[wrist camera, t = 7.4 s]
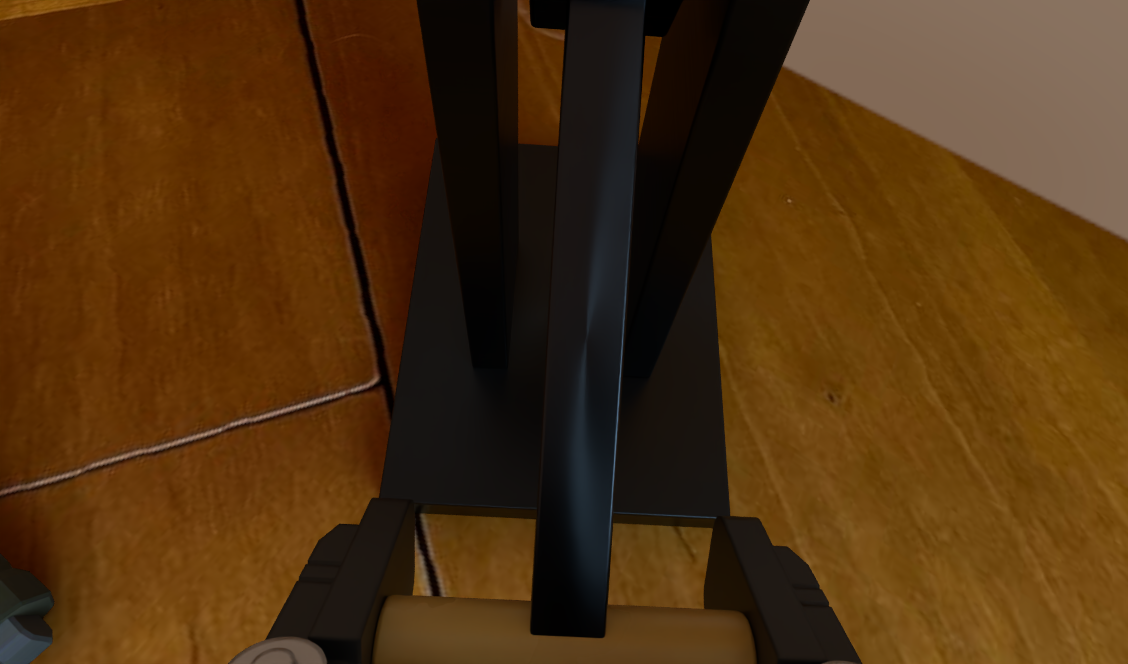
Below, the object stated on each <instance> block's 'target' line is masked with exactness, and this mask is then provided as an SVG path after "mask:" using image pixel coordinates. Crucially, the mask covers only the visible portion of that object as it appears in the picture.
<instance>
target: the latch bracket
mask: <svg viewBox="0 0 1128 664" xmlns="http://www.w3.org/2000/svg"><path fill="white" fill-rule="evenodd" d="M416 1H417V7H418V14H419V21H420V27H421V34H422V40H423V47H424V53H425V60H426V66H427V73H428V79H429V86H430V93H431V99H432V106H433V112H434V119H435V125H436V132H437V138H436V140H435V147H434V153H433V159H432V166H431V172H430V178H429V185H428V191H427V197H426V204H425V210H424V216H423V223H422V229H421V235H420V242H419V248H418V254H417V260H416V267H415V273H414V279H413V286H412V292H411V298H410V305H409V311H408V317H407V324H406V330H405V336H404V343H403V349H402V355H401V362H400V368H399V374H398V381H397V387H396V393H395V400H394V406H393V412H392V419H391V425H390V431H389V437H388V444H387V450H386V456H385V463H384V469H383V475H382V482H381V488H380V494H379V498H394V499H412V500H413V501H414V508H415V513H426V514H445V515H465V516H485V517H505V518H524V519H536V508H537V491H538V474H539V457H540V441H541V424H542V407H543V391H544V374H545V357H546V340H547V324H548V307H549V290H550V273H551V257H552V240H553V223H554V206H555V190H556V173H557V156H558V146H546V145H531V144H518V16H517V0H416ZM809 1H810V0H683V2H682V4H681V6H680V8H679V10H678V12H677V14H676V16H675V18H674V20H673V23H672V25H671V27H670V29H669V31H668V33H667V35H666V36H664V37H662V40H661V45H660V49H659V54H658V58H657V63H656V67H655V72H654V77H653V81H652V86H651V90H650V95H649V99H648V104H647V108H646V113H645V118H644V122H643V127H642V131H641V136H640V140H639V145H638V153H637V168H636V184H635V199H634V214H633V229H632V244H631V259H630V274H629V290H628V305H627V320H626V335H625V350H624V365H623V380H622V396H621V411H620V426H619V441H618V456H617V471H616V486H615V501H614V517H613V523H623V524H643V525H663V526H682V527H702V528H713V526H714V522H715V519H716V517H717V516H730V505H729V491H728V476H727V462H726V447H725V432H724V418H723V403H722V389H721V374H720V359H719V345H718V330H717V315H716V301H715V286H714V272H713V257H712V242H711V233H712V230H713V228H714V225H715V223H716V221H717V218H718V216H719V214H720V211H721V209H722V207H723V204H724V202H725V200H726V197H727V195H728V192H729V190H730V188H731V185H732V183H733V181H734V178H735V176H736V174H737V171H738V169H739V166H740V164H741V162H742V159H743V157H744V155H745V152H746V150H747V148H748V145H749V143H750V140H751V138H752V136H753V133H754V131H755V129H756V126H757V124H758V122H759V119H760V117H761V114H762V112H763V110H764V107H765V105H766V103H767V100H768V98H769V96H770V93H771V91H772V89H773V86H774V84H775V81H776V79H777V77H778V74H779V72H780V70H781V67H782V65H783V63H784V60H785V58H786V55H787V53H788V51H789V48H790V46H791V43H792V41H793V39H794V36H795V34H796V32H797V29H798V27H799V25H800V22H801V20H802V17H803V15H804V13H805V10H806V8H807V6H808V3H809Z"/></svg>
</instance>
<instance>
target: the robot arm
mask: <svg viewBox="0 0 1128 664" xmlns="http://www.w3.org/2000/svg"><path fill="white" fill-rule="evenodd" d="M414 574H415V508H414V501H413V500H412V499H394V498H374V497H373V498H372V499H371V500H370V502H369V504H368V506H367V509H366V511H365V513H364V515H363V517H362V519H361V522H360V524H359V525H356V524H339V525H337V526H336V527H335V528H334V529H332V530H331V531H330V532H329V533H327V534H326V535H325V536H324V537H322V538H321V539H320V540H319V541H318V543H317V544H316V546H315V548H314V550H313V552H312V554H311V556H310V557H309V559H308V564H306V565H305V567H304V569H303V570H302V572H301V574H300V576H299V581H297V582H296V584H295V585H294V587H293V589H292V591H291V593H290V595H289V597H288V598H287V600H286V602H285V604H284V606H283V608H282V610H281V611H280V613H279V615H278V617H277V619H276V621H275V623H274V624H273V626H272V628H271V630H270V632H269V634H268V636H267V638H266V639H265V640H264V641H261V642H259V643H256V644H254V645H252V646H250V647H248V648H246V649H245V650H243V651H242V652H240V653H239V654H237V655H236V656H235V657H234V658H233V659H232V660H231V661H230V662H229V663H228V664H371V662H372V652H373V644H374V638H375V632H376V627H377V623H378V619H379V615H380V612H381V609H382V606H383V604H384V602H385V600H386V598H387V597H388V596H391V595H412V594H413V586H414ZM819 586H820V585H819V584H818V582H817V580H816V578H815V576H814V574H813V573H812V571H811V569H810V567H809V565H808V564H807V563H806V562H804V561H803V560H802V559H801V558H800V557H799V556H798V555H796V554H795V553H794V552H793V551H792V550H791V549H790V548H788V547H787V546H773V545H772V543H771V541H770V539H769V537H768V535H767V533H766V531H765V529H764V527H763V525H762V523H761V521H760V520H759V518H756V517H736V516H717V517H716V519H715V522H714V526H713V532H712V539H711V545H710V552H709V558H708V565H707V571H706V578H705V584H704V609H713V610H734V611H739V612H741V613H743V614H744V615H745V616H746V618H747V619H748V621H749V624H750V627H751V630H752V633H753V637H754V642H755V647H756V655H757V664H862V662H861V660H860V659H859V657H858V655H857V653H856V651H855V649H854V648H853V646H852V644H851V642H850V640H849V638H848V637H847V635H846V633H845V631H844V629H843V627H842V626H841V624H840V622H839V620H838V618H837V616H836V615H835V613H834V611H833V609H832V607H829V602H828V600H827V598H826V596H825V595H824V593H823V591H822V590H820V588H819Z"/></svg>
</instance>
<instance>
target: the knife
mask: <svg viewBox="0 0 1128 664" xmlns="http://www.w3.org/2000/svg"><path fill="white" fill-rule="evenodd" d="M53 605H54V599H53V597H52V594H51V591H50V590H49V589H47V588H46V587H45V586H44V585H43V584H42V583H41V582H40V581H39V580H38V579H37V578H36V577H35V576H34V575H32V574H31V573H30V572H29V571H25V570H20V569H15V568H12V566H11V565H10V563H9V562H8V561H7V560H6V559H5V558H4V557H3V556H2V555H1V554H0V664H29V663H30V662H32V661H33V660H34V659H35V658H36V657H37V656H38V655H39V654H40V653H42V652H43V651H44V650H45V649H46V648H47V647H48V646H49V645H51V644H52V629H51V628H50V627H49V626H48V625H47V623H46V622H45V621H44V620H43V619H42V618H43V617H44V616H45V615H46V614H47V613H48V611H49V610H50V609H51V608H52V607H53Z"/></svg>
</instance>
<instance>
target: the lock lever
mask: <svg viewBox="0 0 1128 664" xmlns="http://www.w3.org/2000/svg"><path fill="white" fill-rule="evenodd" d="M529 2H530V22H531V25H532V26H533V27H535V28H547V29H561V30H565V39H564V56H563V72H562V89H561V106H560V123H559V139H558V156H557V173H556V190H555V206H554V223H553V240H552V257H551V273H550V290H549V307H548V324H547V340H546V357H545V374H544V391H543V407H542V424H541V441H540V457H539V474H538V491H537V508H536V524H535V541H534V558H533V575H532V591H531V601H521V600H499V599H478V598H456V597H435V596H414V595H391V596H388V597H387V598H386V600H385V602H384V604H383V606H382V609H381V612H380V615H379V619H378V623H377V627H376V632H375V638H374V644H373V652H372V662H371V664H757V655H756V647H755V642H754V637H753V633H752V630H751V627H750V624H749V621H748V619H747V618H746V616H745V615H744V614H743V613H741V612H739V611H734V610H713V609H691V608H670V607H649V606H627V605H608V592H609V577H610V562H611V547H612V532H613V517H614V501H615V486H616V471H617V456H618V441H619V426H620V411H621V396H622V380H623V365H624V350H625V335H626V320H627V305H628V290H629V274H630V259H631V244H632V229H633V214H634V199H635V184H636V168H637V153H638V138H639V123H640V108H641V93H642V78H643V62H644V47H645V36H656V37H664V36H666V35H667V33H668V31H669V29H670V27H671V25H672V23H673V20H674V18H675V16H676V14H677V12H678V10H679V8H680V6H681V4H682V2H683V0H529Z"/></svg>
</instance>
